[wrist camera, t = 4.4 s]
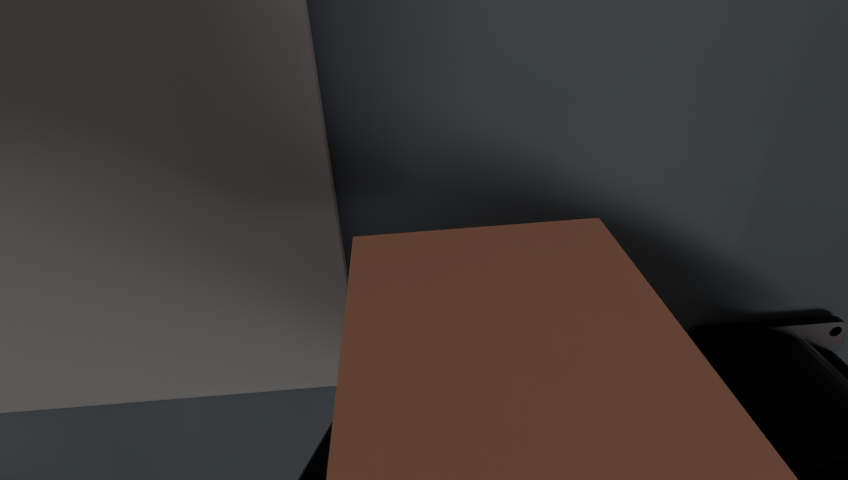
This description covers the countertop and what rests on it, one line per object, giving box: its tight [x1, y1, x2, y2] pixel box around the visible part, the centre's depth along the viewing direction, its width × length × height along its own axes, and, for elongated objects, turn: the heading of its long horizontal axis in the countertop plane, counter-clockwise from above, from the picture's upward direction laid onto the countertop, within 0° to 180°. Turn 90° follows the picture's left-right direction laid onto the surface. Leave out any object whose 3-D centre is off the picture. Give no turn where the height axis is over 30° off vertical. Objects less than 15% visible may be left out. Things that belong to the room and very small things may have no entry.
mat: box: [0, 0, 348, 413], centre depth 18 cm, size 18×16×1 cm
